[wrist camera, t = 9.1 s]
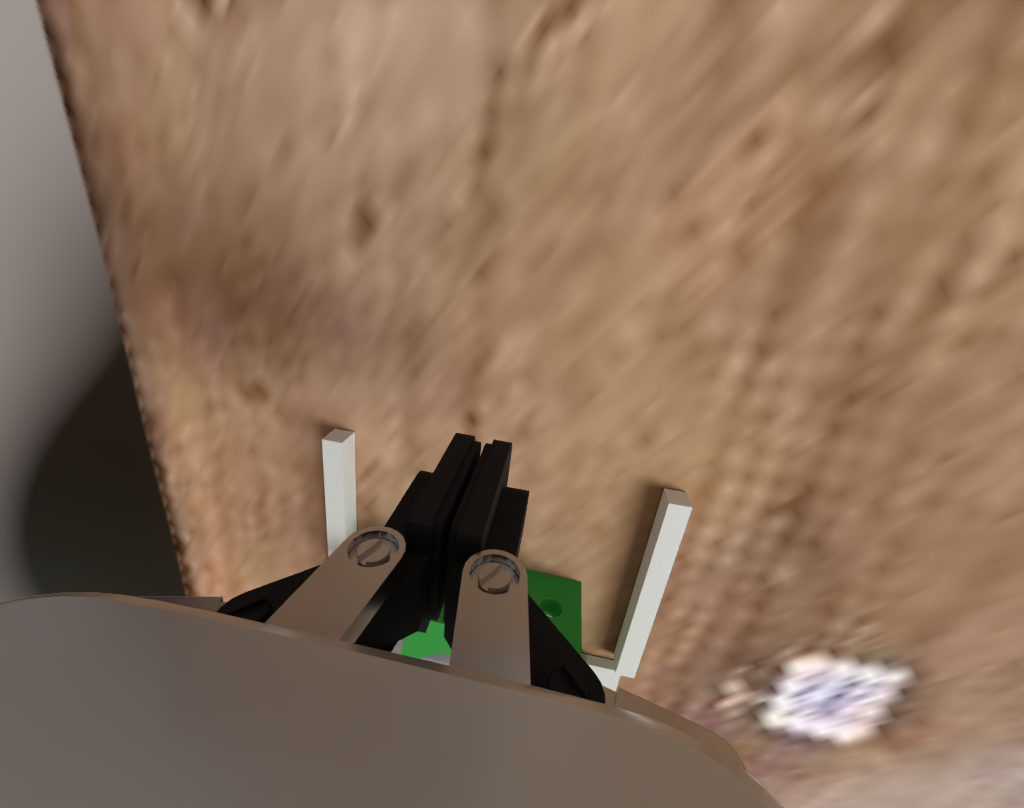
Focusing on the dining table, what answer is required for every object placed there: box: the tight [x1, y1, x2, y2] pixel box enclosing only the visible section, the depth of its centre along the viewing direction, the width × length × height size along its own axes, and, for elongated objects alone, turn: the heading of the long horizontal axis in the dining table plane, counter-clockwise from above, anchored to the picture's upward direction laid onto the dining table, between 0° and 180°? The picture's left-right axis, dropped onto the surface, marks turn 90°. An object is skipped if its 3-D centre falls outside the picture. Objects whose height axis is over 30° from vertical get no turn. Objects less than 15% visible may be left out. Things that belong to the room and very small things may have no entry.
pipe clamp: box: [400, 570, 582, 659], centre depth 22 cm, size 11×4×5 cm, turn 81°
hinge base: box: [322, 429, 692, 691], centre depth 24 cm, size 20×17×2 cm
